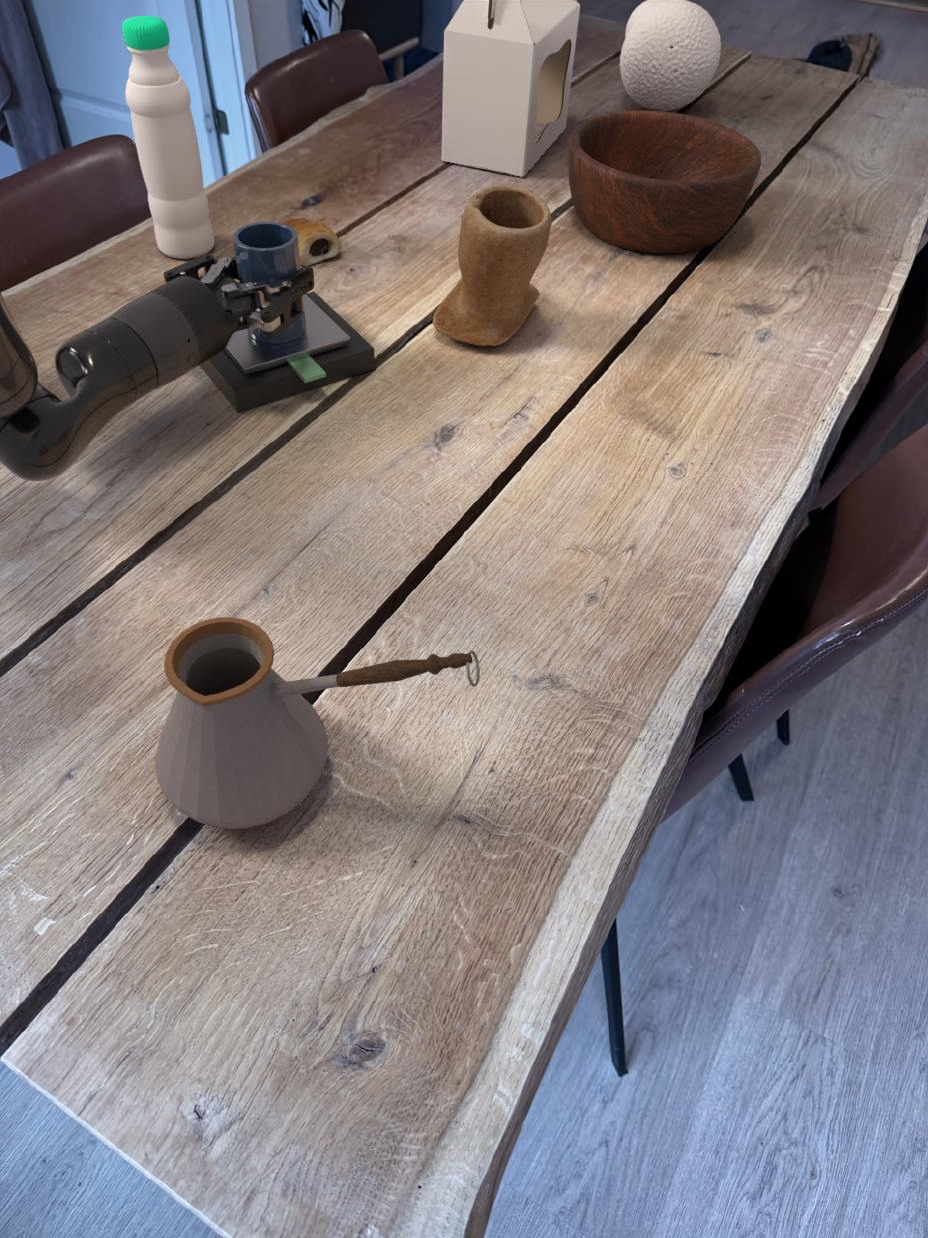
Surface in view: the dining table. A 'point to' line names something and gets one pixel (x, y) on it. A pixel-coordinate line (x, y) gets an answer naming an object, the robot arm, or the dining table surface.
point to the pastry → (314, 240)
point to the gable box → (506, 81)
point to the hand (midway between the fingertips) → (284, 265)
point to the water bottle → (166, 142)
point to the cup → (268, 267)
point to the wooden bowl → (659, 179)
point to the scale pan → (264, 355)
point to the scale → (291, 369)
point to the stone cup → (495, 265)
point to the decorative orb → (669, 53)
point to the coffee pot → (251, 723)
